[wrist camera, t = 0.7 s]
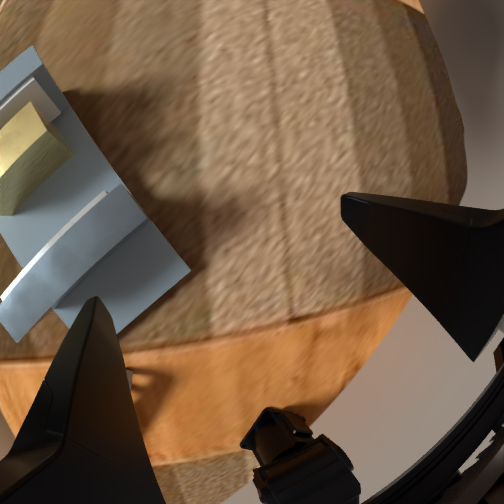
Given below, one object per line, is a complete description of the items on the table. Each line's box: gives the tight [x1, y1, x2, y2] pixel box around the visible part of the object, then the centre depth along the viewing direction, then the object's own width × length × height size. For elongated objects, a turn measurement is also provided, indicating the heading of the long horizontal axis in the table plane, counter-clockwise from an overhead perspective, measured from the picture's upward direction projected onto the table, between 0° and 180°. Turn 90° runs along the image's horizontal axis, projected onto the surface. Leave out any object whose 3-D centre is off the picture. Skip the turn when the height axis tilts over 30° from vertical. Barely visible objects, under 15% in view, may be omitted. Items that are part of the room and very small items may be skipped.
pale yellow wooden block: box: [0, 101, 74, 216], centre depth 15 cm, size 3×8×7 cm, turn 127°
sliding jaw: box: [0, 183, 151, 343], centre depth 17 cm, size 3×12×8 cm, turn 127°
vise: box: [0, 45, 191, 334], centre depth 17 cm, size 22×12×10 cm, turn 37°
